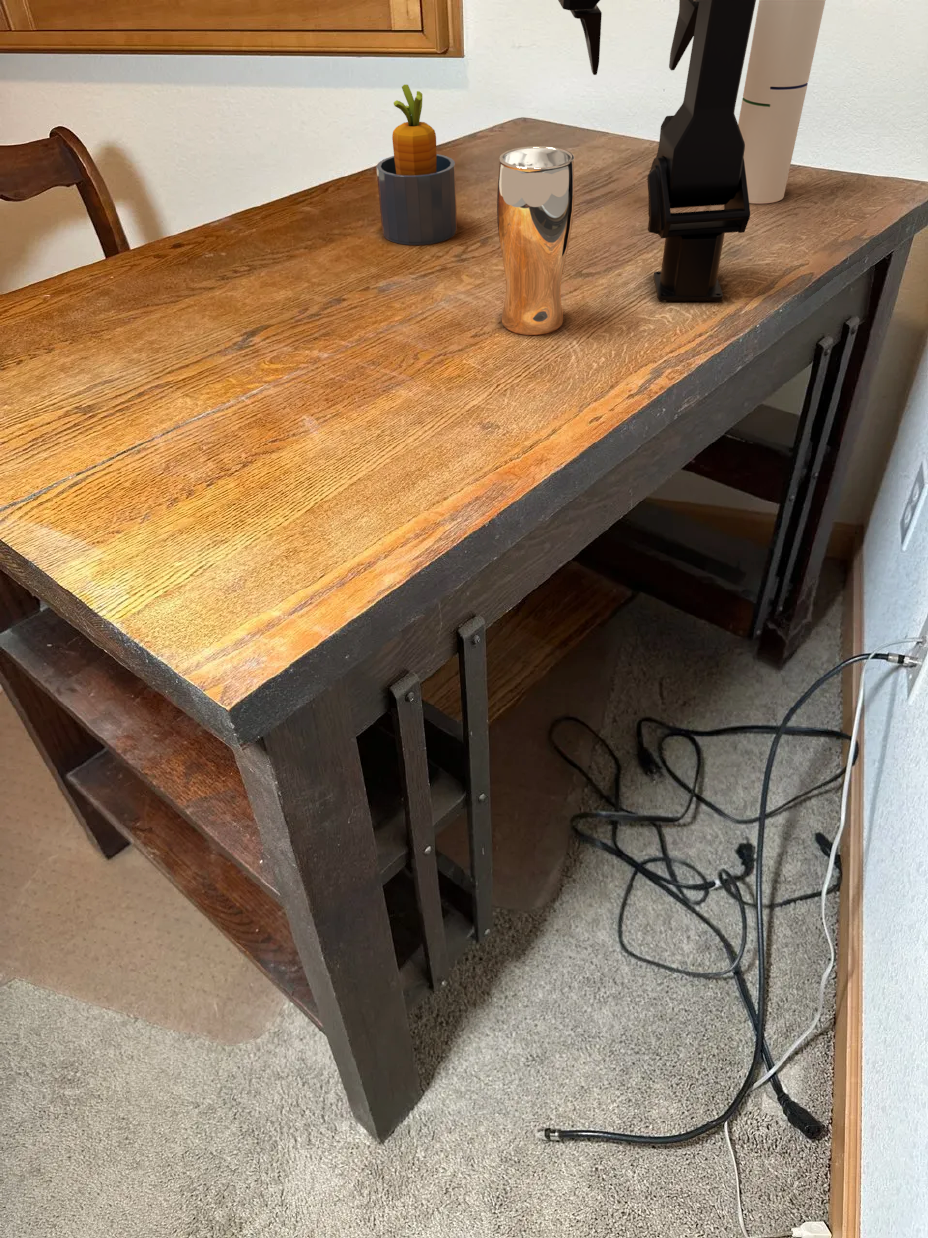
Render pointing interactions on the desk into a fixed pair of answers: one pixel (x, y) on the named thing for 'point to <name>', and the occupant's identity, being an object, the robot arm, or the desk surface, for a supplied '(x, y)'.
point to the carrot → (413, 139)
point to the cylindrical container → (776, 92)
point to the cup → (418, 203)
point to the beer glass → (534, 234)
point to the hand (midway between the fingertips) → (633, 71)
